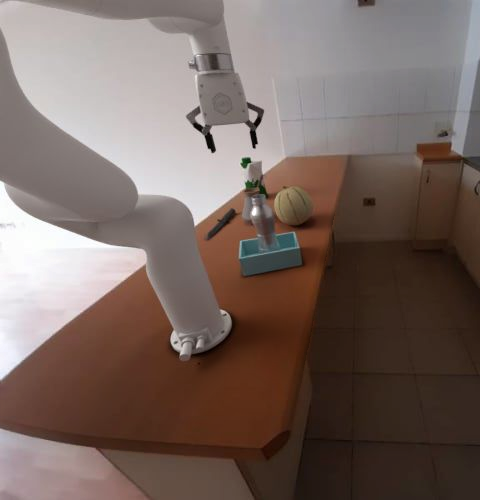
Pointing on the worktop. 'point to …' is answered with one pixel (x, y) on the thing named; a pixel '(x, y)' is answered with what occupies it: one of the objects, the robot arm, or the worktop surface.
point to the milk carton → (252, 174)
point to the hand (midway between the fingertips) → (234, 150)
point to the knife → (221, 222)
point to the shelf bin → (269, 255)
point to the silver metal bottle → (264, 224)
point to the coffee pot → (250, 201)
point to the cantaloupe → (293, 205)
